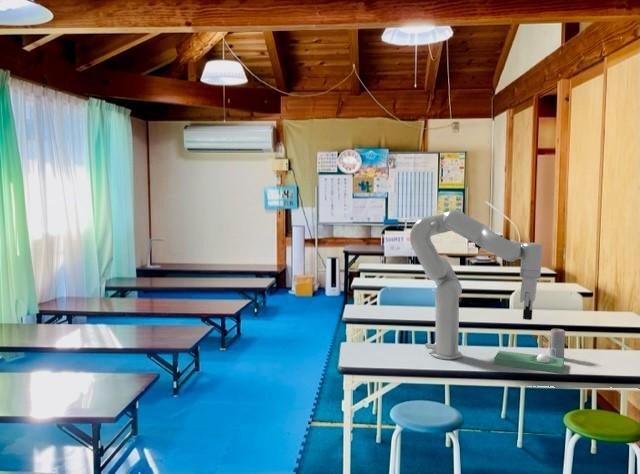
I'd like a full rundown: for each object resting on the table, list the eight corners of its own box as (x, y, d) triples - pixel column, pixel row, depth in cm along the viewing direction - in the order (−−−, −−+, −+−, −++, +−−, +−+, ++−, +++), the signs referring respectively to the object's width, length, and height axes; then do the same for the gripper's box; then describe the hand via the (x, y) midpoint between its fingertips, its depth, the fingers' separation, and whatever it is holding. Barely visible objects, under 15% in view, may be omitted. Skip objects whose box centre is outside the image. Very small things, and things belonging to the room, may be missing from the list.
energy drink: (560, 356, 231) (561, 328, 230) (566, 360, 226) (567, 331, 225) (547, 356, 231) (548, 328, 230) (553, 360, 225) (554, 331, 225)
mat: (494, 364, 220) (494, 357, 220) (498, 356, 231) (499, 350, 231) (561, 373, 209) (562, 366, 209) (563, 364, 220) (563, 358, 220)
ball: (552, 367, 214) (540, 370, 217) (552, 359, 218) (540, 362, 221) (546, 357, 213) (534, 360, 216) (546, 349, 217) (534, 352, 220)
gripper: (522, 270, 226) (520, 314, 227) (517, 275, 212) (514, 321, 214) (542, 272, 222) (539, 316, 224) (538, 277, 209) (535, 324, 211)
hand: (527, 319), depth 219 cm, fingers closed
